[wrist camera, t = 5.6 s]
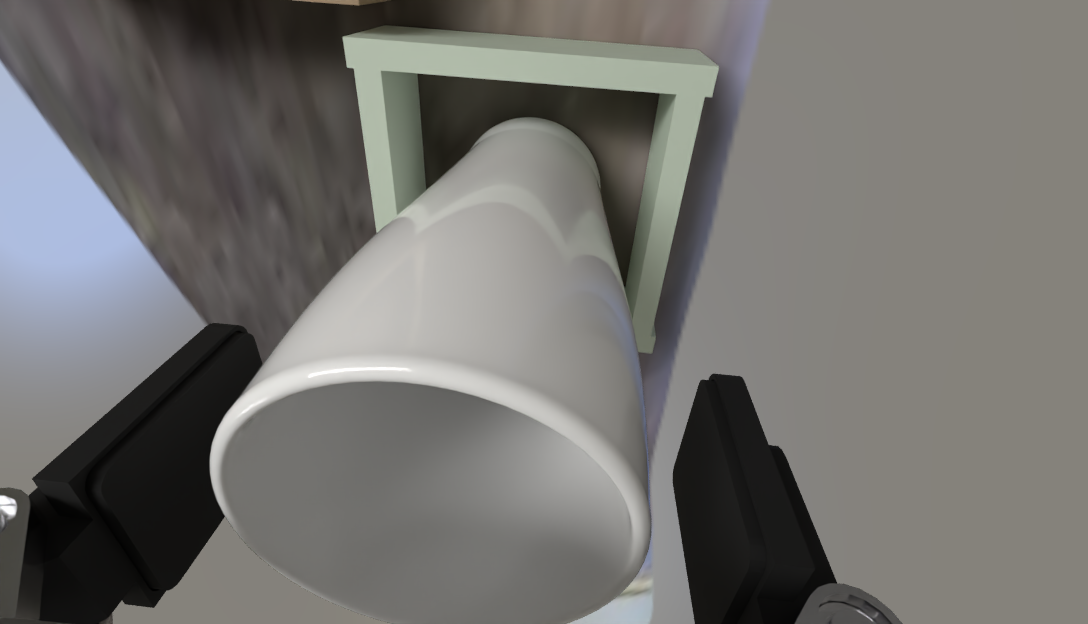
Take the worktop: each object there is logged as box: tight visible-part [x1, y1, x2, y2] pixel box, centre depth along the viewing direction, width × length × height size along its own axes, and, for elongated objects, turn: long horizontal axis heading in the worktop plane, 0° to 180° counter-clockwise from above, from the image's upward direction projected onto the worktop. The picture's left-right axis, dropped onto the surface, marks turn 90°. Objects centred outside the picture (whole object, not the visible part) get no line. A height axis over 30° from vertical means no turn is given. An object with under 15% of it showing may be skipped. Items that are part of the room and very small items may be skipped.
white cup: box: [210, 117, 651, 624], centre depth 14 cm, size 7×7×15 cm
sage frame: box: [343, 25, 719, 353], centre depth 18 cm, size 10×11×4 cm
